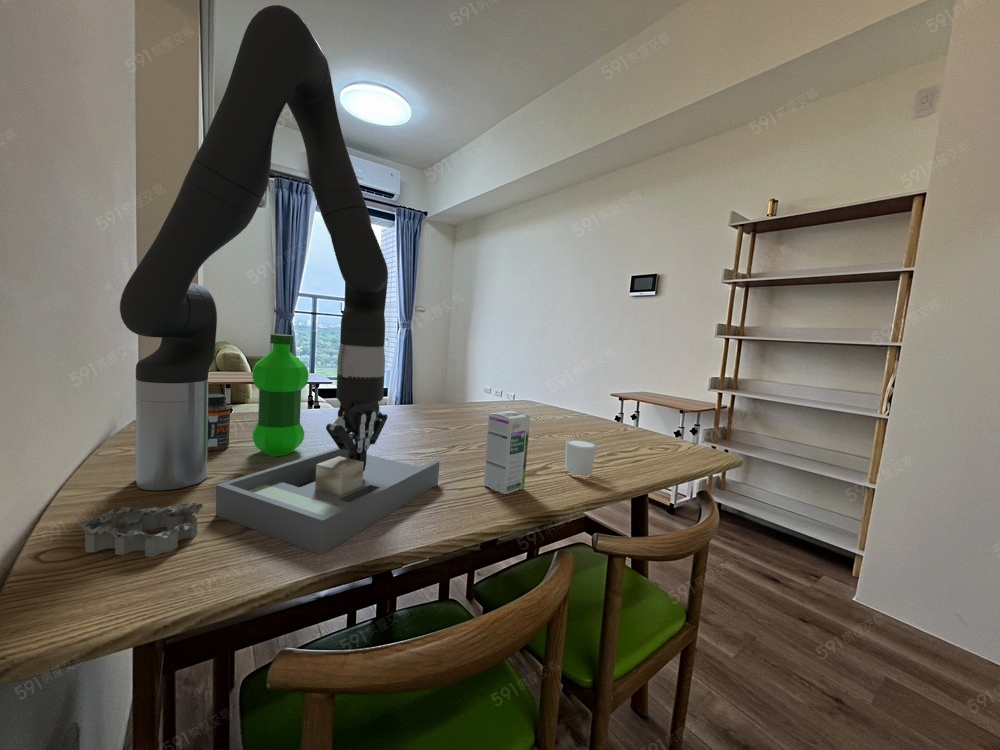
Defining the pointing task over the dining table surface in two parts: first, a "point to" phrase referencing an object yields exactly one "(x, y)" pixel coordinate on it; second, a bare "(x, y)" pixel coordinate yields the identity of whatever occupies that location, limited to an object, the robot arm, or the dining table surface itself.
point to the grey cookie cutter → (128, 525)
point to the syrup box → (506, 451)
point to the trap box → (320, 499)
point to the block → (339, 475)
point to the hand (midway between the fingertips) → (356, 471)
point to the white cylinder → (579, 456)
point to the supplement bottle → (218, 422)
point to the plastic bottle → (279, 398)
